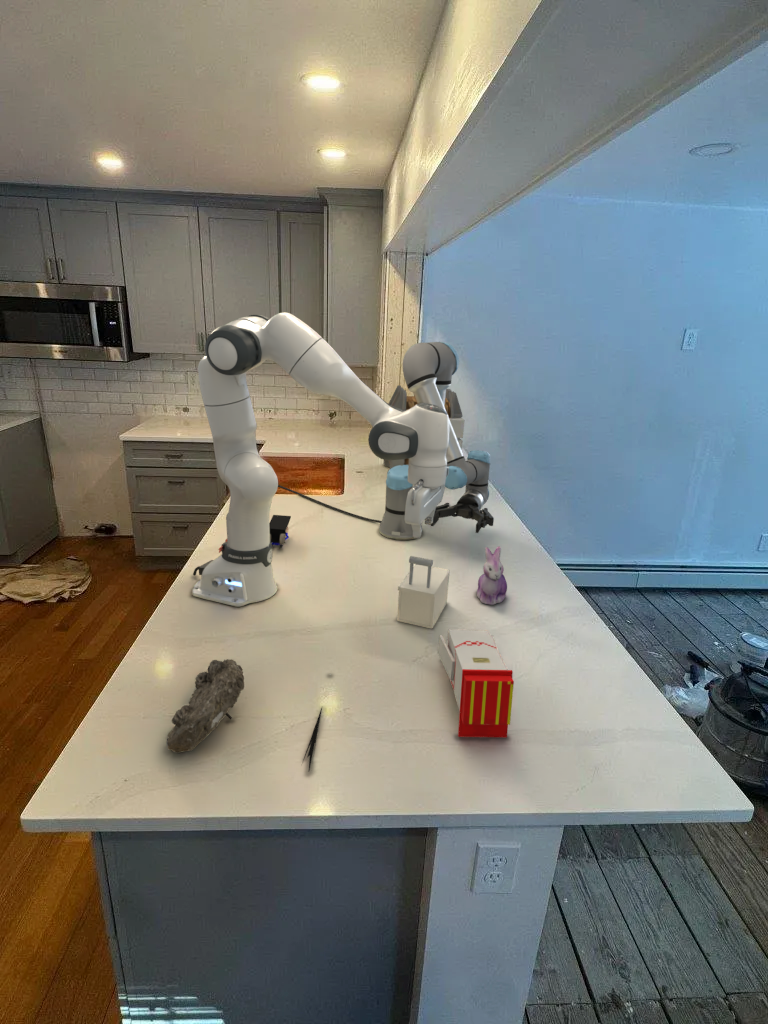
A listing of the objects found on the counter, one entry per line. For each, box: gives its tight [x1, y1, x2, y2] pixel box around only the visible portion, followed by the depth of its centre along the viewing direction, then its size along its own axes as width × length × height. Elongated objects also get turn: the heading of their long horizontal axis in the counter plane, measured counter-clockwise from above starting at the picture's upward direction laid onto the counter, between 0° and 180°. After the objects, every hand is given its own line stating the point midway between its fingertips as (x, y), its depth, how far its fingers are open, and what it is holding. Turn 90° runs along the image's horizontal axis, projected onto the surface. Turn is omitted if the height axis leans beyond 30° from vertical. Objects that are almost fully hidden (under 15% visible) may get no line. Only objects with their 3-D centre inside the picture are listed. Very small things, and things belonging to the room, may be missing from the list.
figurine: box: [476, 545, 508, 605], centre depth 155 cm, size 9×10×15 cm
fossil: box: [166, 658, 245, 754], centre depth 106 cm, size 22×10×15 cm
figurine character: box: [269, 514, 292, 550], centre depth 187 cm, size 7×8×15 cm
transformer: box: [383, 384, 465, 470], centre depth 268 cm, size 34×33×41 cm
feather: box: [301, 673, 332, 771], centre depth 108 cm, size 2×28×2 cm
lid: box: [397, 555, 451, 598], centre depth 144 cm, size 15×9×9 cm, turn 159°
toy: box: [437, 628, 515, 738], centre depth 117 cm, size 12×13×30 cm
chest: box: [396, 574, 450, 630], centre depth 148 cm, size 14×9×9 cm, turn 159°
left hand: (422, 530), depth 136 cm, fingers open, 8 cm apart
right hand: (454, 525), depth 167 cm, fingers open, 13 cm apart
